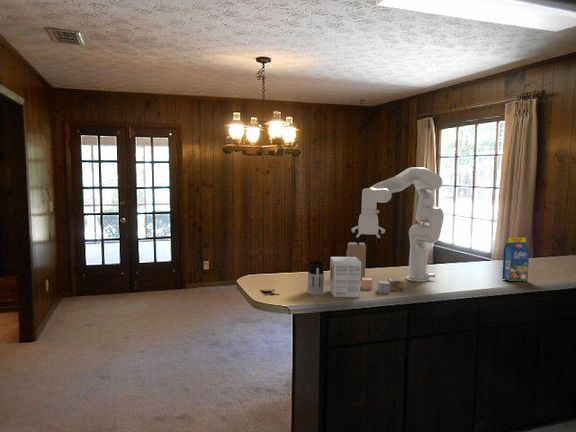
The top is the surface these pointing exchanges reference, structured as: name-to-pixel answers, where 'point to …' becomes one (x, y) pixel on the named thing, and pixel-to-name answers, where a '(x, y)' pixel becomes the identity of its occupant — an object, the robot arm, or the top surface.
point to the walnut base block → (396, 283)
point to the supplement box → (345, 276)
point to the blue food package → (516, 260)
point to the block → (358, 254)
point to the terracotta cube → (366, 283)
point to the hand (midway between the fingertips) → (367, 245)
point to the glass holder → (316, 278)
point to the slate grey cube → (384, 287)
